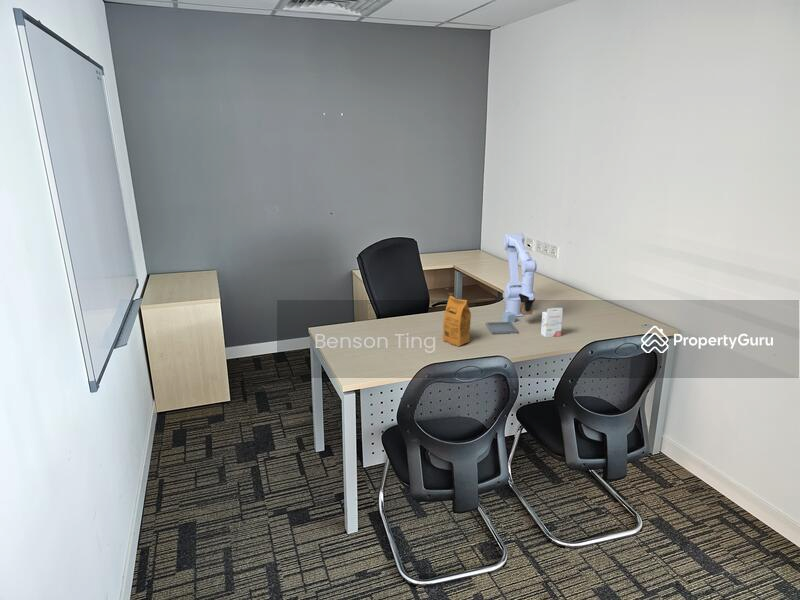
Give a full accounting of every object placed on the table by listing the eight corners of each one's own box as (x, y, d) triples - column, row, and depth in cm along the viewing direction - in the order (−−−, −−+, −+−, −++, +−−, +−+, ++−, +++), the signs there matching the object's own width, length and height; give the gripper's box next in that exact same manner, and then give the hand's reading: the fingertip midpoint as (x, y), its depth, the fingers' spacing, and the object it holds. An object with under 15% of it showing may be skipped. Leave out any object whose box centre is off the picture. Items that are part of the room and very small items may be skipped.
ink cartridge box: (556, 332, 262) (558, 304, 257) (561, 336, 257) (563, 307, 253) (540, 333, 260) (542, 305, 256) (544, 337, 255) (547, 308, 251)
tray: (485, 325, 272) (485, 322, 271) (510, 324, 273) (510, 321, 272) (491, 334, 259) (492, 331, 259) (517, 333, 261) (517, 330, 260)
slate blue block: (502, 320, 278) (503, 312, 277) (509, 319, 280) (510, 311, 279) (507, 323, 274) (508, 315, 273) (514, 322, 276) (515, 314, 275)
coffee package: (454, 335, 258) (455, 292, 252) (472, 342, 249) (474, 298, 242) (439, 340, 252) (440, 296, 246) (457, 348, 243) (459, 302, 236)
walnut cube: (519, 311, 273) (520, 302, 271) (528, 311, 273) (529, 302, 272) (522, 314, 268) (523, 305, 266) (532, 314, 268) (533, 305, 267)
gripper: (540, 287, 259) (538, 313, 263) (530, 279, 273) (528, 304, 277) (526, 288, 258) (524, 314, 263) (517, 280, 272) (515, 305, 276)
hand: (525, 309), depth 270 cm, fingers closed on walnut cube, 5 cm apart
